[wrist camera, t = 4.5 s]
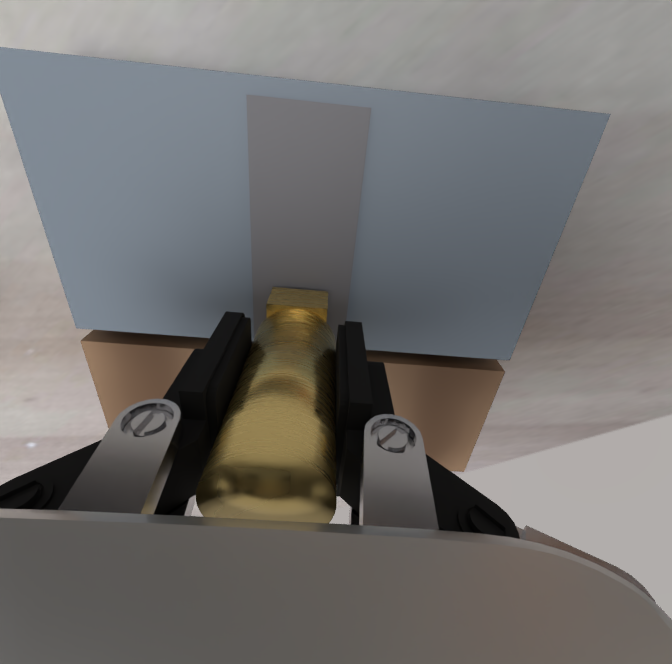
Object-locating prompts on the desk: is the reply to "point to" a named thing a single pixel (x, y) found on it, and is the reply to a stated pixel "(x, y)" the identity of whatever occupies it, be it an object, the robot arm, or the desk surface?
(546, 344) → the desk surface
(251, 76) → the door leaf
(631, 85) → the desk surface
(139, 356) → the door jamb
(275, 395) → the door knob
